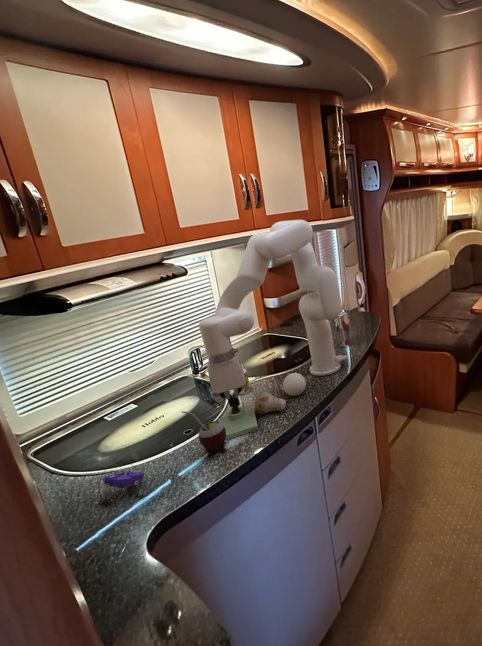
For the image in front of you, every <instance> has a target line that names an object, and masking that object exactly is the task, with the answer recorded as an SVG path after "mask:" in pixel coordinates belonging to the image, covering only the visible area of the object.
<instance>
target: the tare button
mask: <svg viewBox="0 0 482 646" xmlns="http://www.w3.org/2000/svg"><path fill="white" fill-rule="evenodd" d="M239 407H240V406H238V409H236V407H235V410H233V408H232V407H231V409H230V410H231V411H232V414H237V413H239V412H240V409H239Z"/></svg>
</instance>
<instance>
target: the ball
mask: <svg viewBox="0 0 482 646" xmlns="http://www.w3.org/2000/svg"><path fill="white" fill-rule="evenodd" d="M306 384H307V382H306V379H305V377H304V376H303V375H302V374H301V373H298V372H292V373H289V374H287V375H286V376H285V377H284V379H283V381H282V388H283V390H284V392H285V393H286V394H287V395H288V396H292V397H297V396H300V395H301V394H302V393H303V392H304V391H305V389H306V387H307V385H306Z"/></svg>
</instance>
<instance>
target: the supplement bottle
mask: <svg viewBox="0 0 482 646" xmlns="http://www.w3.org/2000/svg"><path fill="white" fill-rule="evenodd" d="M241 365H242V368H243V372H244V375H245V380H246V382H247V384H248V387H247V388H245V389H243V390H241V392H240V393H239V395H244V394H247V393H248V392H250V390H252V389H251V384H250V380H249V375H248V371H247V369H246V368H245V367H244V365H243V364H241Z"/></svg>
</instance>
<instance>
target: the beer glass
mask: <svg viewBox="0 0 482 646" xmlns="http://www.w3.org/2000/svg"><path fill="white" fill-rule="evenodd" d="M333 325H334V326H333V327H334V330H335V332H336V336H337V339H338V347H340V348H347V347H350V346H351V345H352V340H351V336H350V329H351V327H350V325H351V324H350V319H349V314H348V312H347V311H341V313H340V315H339V316H338V317H337V318H336V319H334V320H333Z"/></svg>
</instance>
